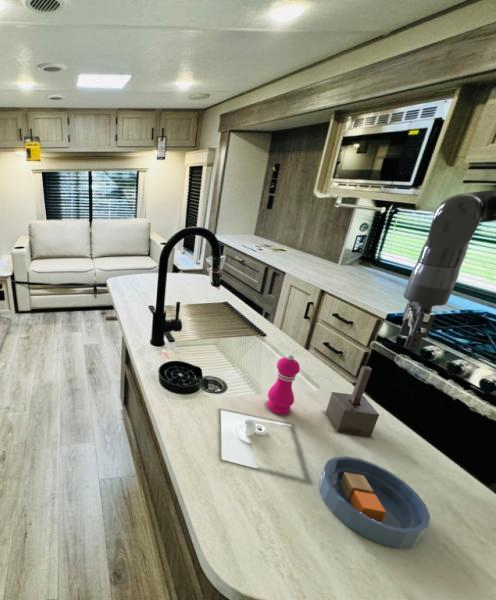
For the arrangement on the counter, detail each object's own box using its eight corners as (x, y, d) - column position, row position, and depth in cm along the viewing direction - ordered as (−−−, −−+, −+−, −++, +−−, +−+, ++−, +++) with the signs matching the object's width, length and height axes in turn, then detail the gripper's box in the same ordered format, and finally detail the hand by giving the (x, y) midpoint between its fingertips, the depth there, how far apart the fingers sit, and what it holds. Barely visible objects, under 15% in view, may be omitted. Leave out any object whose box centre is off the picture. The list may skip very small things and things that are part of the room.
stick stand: (355, 416, 96) (363, 395, 93) (370, 436, 89) (379, 414, 86) (325, 412, 98) (331, 391, 95) (337, 431, 91) (344, 410, 88)
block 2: (369, 506, 69) (375, 494, 68) (380, 524, 66) (386, 512, 64) (349, 502, 70) (354, 490, 69) (358, 520, 67) (363, 507, 65)
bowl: (388, 481, 76) (395, 464, 74) (442, 561, 60) (454, 542, 58) (307, 466, 80) (312, 450, 78) (338, 538, 64) (345, 520, 62)
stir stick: (348, 422, 94) (368, 366, 87) (351, 426, 93) (371, 369, 85) (342, 421, 94) (361, 365, 87) (345, 425, 93) (364, 369, 86)
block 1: (358, 487, 74) (363, 475, 72) (368, 503, 70) (373, 491, 69) (339, 483, 75) (344, 471, 73) (347, 499, 71) (352, 487, 70)
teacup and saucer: (264, 428, 92) (267, 417, 91) (268, 449, 86) (271, 437, 84) (232, 421, 95) (234, 411, 94) (234, 441, 88) (236, 429, 87)
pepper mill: (268, 414, 98) (281, 359, 91) (263, 399, 105) (274, 347, 97) (294, 417, 96) (309, 362, 89) (286, 402, 103) (300, 349, 96)
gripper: (463, 294, 66) (434, 359, 72) (445, 277, 77) (421, 335, 83) (414, 287, 71) (391, 349, 77) (404, 272, 81) (384, 328, 87)
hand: (407, 342), depth 80 cm, fingers open, 8 cm apart
